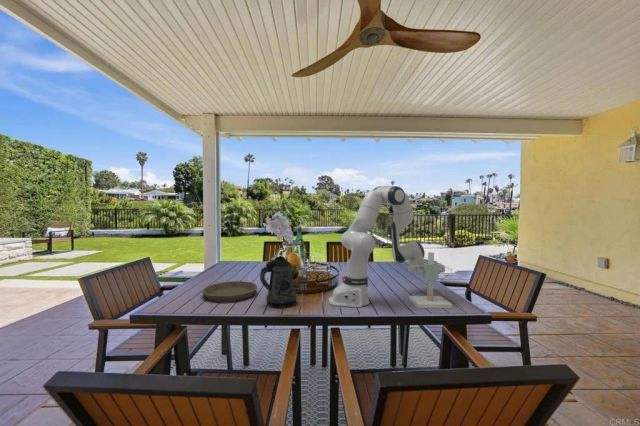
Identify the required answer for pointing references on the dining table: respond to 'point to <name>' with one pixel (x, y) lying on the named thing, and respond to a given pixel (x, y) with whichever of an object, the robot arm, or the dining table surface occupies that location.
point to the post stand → (430, 294)
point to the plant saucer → (229, 291)
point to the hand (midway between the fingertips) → (431, 271)
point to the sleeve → (431, 271)
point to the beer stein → (279, 283)
